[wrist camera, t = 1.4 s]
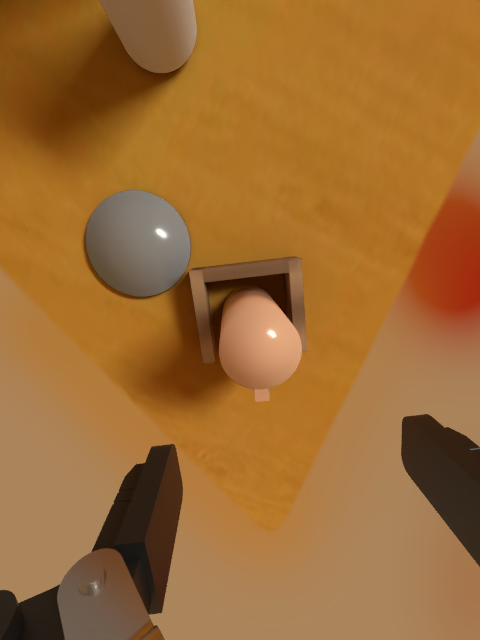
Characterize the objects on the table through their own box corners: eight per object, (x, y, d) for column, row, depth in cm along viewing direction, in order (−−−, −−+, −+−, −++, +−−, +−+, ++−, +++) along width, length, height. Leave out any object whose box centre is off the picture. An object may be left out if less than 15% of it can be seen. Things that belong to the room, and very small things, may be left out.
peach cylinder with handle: (219, 289, 31) (213, 316, 20) (272, 282, 31) (299, 306, 20) (229, 365, 33) (229, 430, 22) (279, 359, 33) (306, 421, 22)
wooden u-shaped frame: (192, 268, 31) (188, 271, 28) (294, 256, 31) (301, 257, 28) (205, 353, 33) (203, 364, 30) (300, 342, 33) (307, 351, 30)
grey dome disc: (77, 197, 29) (74, 196, 28) (182, 185, 29) (181, 184, 28) (101, 300, 31) (98, 302, 31) (197, 289, 31) (197, 290, 31)
